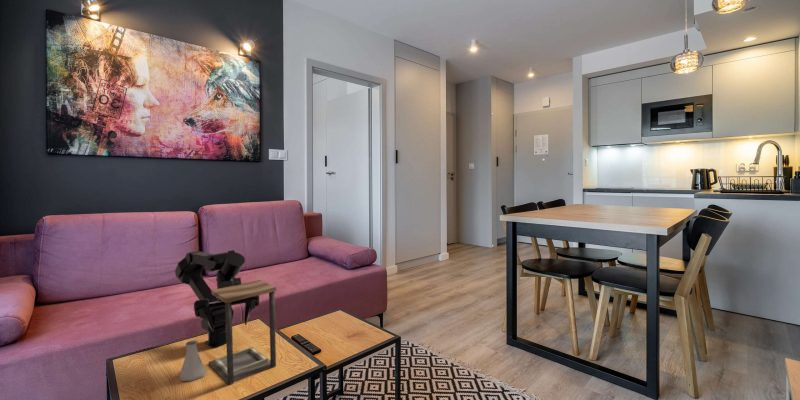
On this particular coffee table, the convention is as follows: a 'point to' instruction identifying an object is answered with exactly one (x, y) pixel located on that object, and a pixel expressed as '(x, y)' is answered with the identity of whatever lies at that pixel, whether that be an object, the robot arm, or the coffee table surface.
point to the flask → (192, 364)
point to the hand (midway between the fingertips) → (229, 327)
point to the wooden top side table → (241, 361)
